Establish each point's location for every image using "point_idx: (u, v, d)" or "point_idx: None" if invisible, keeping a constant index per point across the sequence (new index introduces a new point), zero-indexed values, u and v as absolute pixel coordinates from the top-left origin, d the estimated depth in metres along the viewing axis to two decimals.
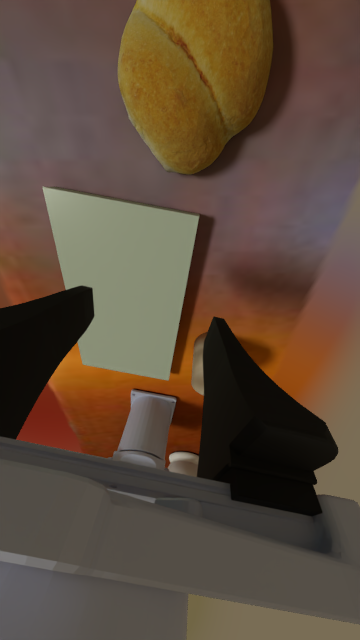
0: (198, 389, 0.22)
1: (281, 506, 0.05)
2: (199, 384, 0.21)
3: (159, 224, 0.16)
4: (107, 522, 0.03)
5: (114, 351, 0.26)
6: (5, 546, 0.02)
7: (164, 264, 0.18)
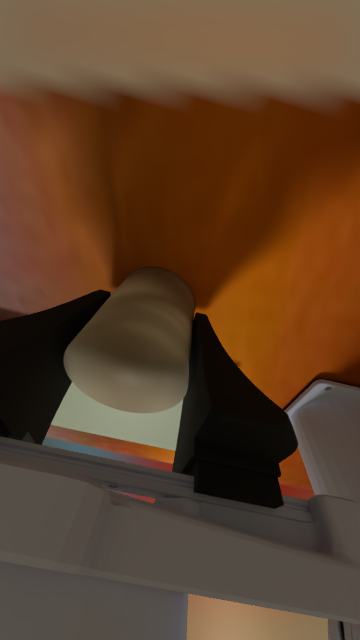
0: (157, 406, 0.09)
1: (243, 498, 0.05)
2: (137, 403, 0.09)
3: None
4: (107, 522, 0.03)
5: (164, 426, 0.19)
6: (5, 546, 0.02)
7: None
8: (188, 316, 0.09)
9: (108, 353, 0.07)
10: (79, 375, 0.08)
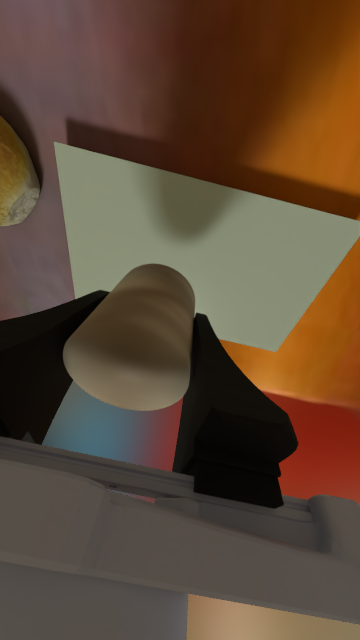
0: (156, 403, 0.08)
1: (243, 498, 0.05)
2: (136, 399, 0.08)
3: (76, 201, 0.14)
4: (107, 522, 0.03)
5: (260, 304, 0.18)
6: (5, 546, 0.02)
7: (120, 201, 0.14)
8: (190, 314, 0.09)
9: (110, 346, 0.07)
10: (78, 369, 0.08)
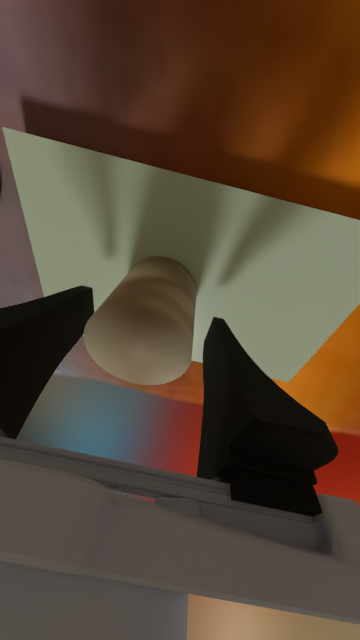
0: (163, 378, 0.10)
1: (281, 506, 0.05)
2: (145, 374, 0.10)
3: (40, 206, 0.11)
4: (107, 522, 0.03)
5: (272, 330, 0.15)
6: (5, 546, 0.02)
7: (96, 205, 0.11)
8: (192, 300, 0.11)
9: (124, 325, 0.08)
10: (95, 346, 0.09)
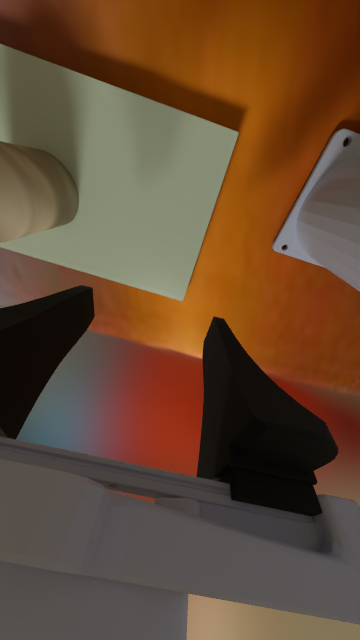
0: (8, 231, 0.11)
1: (281, 506, 0.05)
2: None
3: None
4: (107, 522, 0.03)
5: (152, 239, 0.16)
6: (5, 546, 0.02)
7: None
8: (48, 177, 0.12)
9: None
10: None
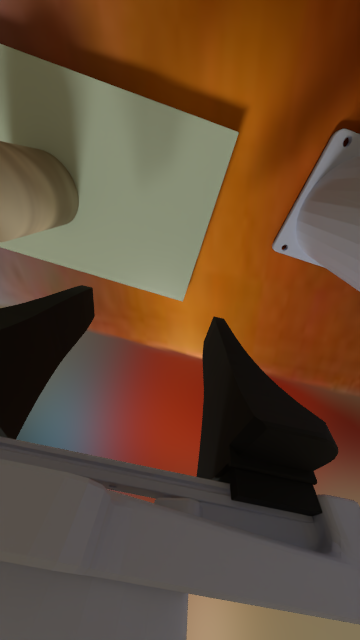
0: (7, 231, 0.11)
1: (281, 506, 0.05)
2: None
3: None
4: (107, 522, 0.03)
5: (152, 239, 0.16)
6: (5, 546, 0.02)
7: None
8: (47, 176, 0.12)
9: None
10: None
